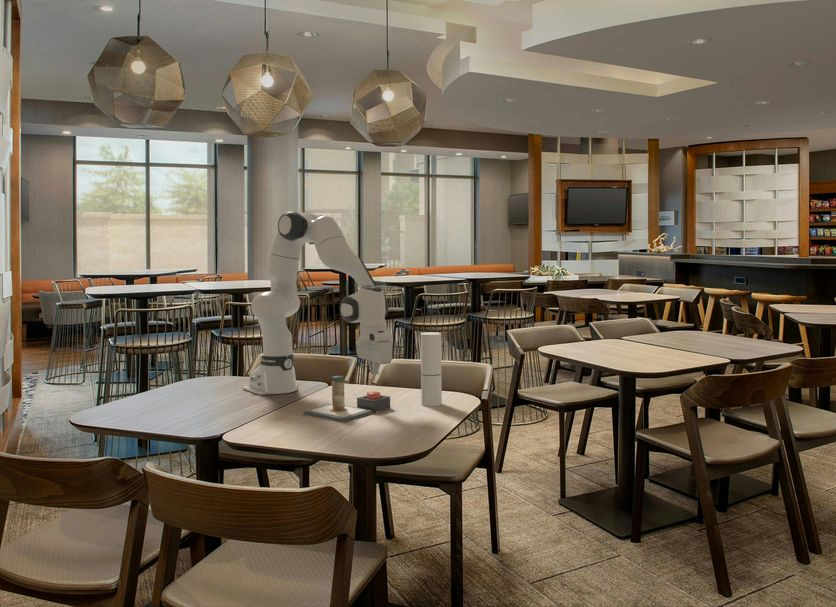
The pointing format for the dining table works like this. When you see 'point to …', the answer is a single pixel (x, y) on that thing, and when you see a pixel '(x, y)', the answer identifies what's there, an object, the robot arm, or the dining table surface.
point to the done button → (373, 395)
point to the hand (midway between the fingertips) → (374, 373)
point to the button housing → (374, 403)
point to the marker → (338, 393)
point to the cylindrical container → (431, 369)
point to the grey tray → (338, 413)
